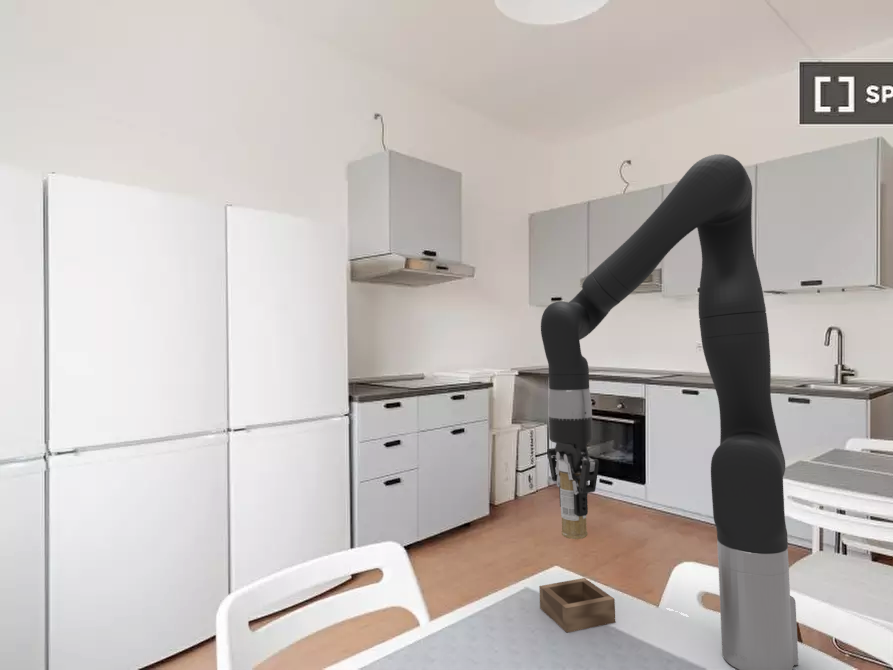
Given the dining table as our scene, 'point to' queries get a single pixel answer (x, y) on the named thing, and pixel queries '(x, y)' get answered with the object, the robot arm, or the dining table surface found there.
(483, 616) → the dining table surface
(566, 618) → the frame
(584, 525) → the sprinkles bottle
